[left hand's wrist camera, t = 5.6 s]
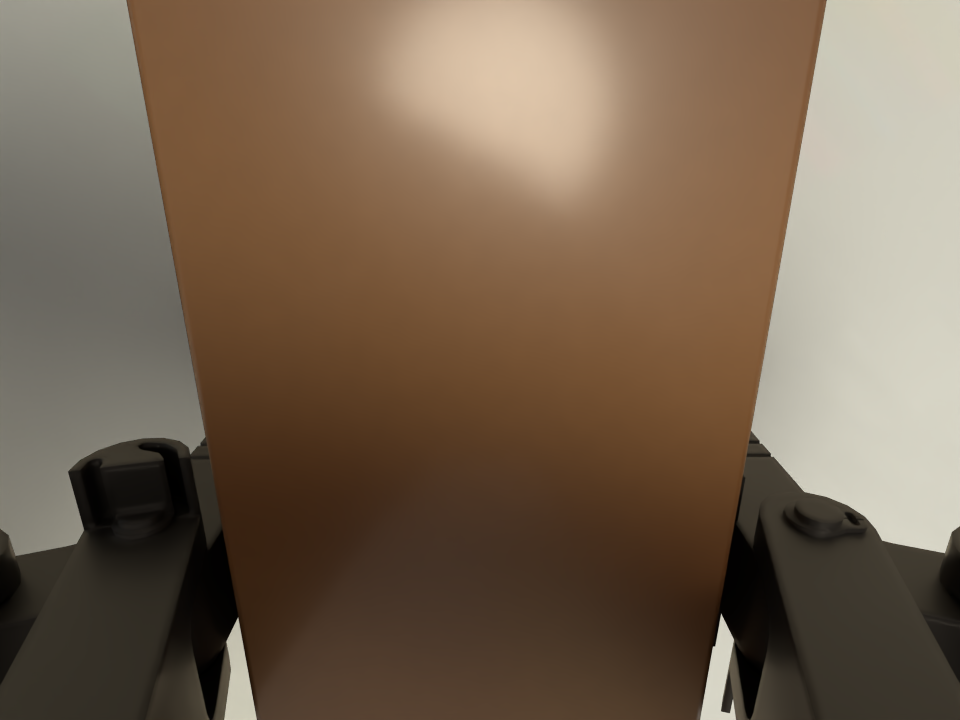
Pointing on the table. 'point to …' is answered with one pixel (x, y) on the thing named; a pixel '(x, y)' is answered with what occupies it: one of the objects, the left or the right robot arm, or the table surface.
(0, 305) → the table surface
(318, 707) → the beam
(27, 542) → the table surface
